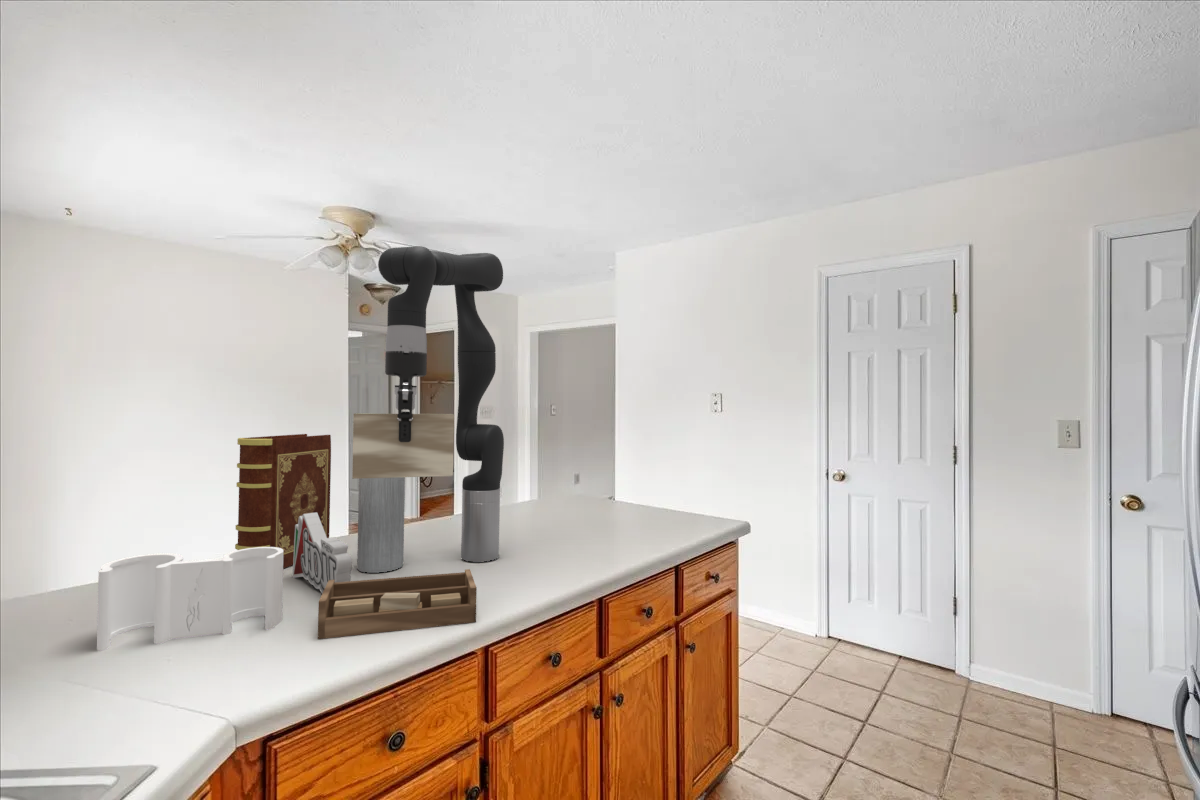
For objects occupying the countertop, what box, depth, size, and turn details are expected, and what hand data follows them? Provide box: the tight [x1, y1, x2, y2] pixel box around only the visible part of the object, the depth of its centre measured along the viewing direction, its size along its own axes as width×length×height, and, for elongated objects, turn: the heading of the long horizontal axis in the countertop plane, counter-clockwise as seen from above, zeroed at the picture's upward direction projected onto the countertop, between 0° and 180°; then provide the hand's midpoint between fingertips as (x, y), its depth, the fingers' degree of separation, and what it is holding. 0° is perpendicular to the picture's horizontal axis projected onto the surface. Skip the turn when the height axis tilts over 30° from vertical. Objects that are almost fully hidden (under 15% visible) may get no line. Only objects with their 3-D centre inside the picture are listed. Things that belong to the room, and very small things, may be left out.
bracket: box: [96, 547, 284, 652], centre depth 93 cm, size 25×10×12 cm, turn 112°
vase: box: [356, 477, 406, 574], centre depth 130 cm, size 10×10×27 cm
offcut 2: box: [431, 593, 461, 607], centre depth 99 cm, size 3×5×4 cm, turn 108°
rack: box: [317, 568, 478, 640], centre depth 99 cm, size 12×25×6 cm, turn 109°
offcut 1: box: [333, 598, 374, 617], centre depth 94 cm, size 3×6×4 cm, turn 109°
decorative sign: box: [291, 512, 353, 594], centre depth 115 cm, size 23×3×15 cm, turn 47°
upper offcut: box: [380, 593, 420, 610], centre depth 97 cm, size 3×6×2 cm, turn 94°
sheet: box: [351, 412, 455, 480], centre depth 107 cm, size 2×18×12 cm, turn 109°
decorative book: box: [234, 433, 332, 570], centre depth 132 cm, size 22×8×30 cm, turn 168°
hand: (404, 440), depth 107 cm, fingers closed on sheet, 2 cm apart
